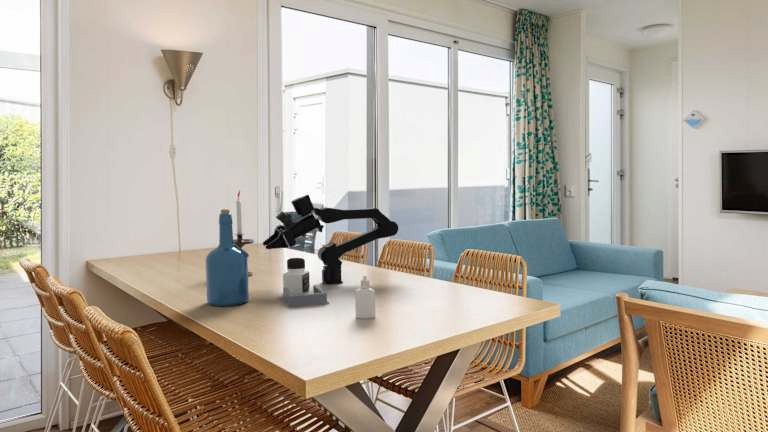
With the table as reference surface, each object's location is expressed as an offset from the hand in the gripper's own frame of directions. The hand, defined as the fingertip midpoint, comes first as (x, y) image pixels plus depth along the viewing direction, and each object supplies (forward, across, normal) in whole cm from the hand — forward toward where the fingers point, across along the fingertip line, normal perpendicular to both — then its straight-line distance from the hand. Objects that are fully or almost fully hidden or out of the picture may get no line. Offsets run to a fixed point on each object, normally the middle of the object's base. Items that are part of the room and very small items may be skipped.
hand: (264, 246), depth 201 cm
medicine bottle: (-2, +14, +17) cm, 22 cm away
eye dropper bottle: (-14, +55, +22) cm, 60 cm away
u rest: (-2, +27, +17) cm, 32 cm away
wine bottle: (+19, +20, +8) cm, 29 cm away
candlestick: (+13, -28, +12) cm, 33 cm away
